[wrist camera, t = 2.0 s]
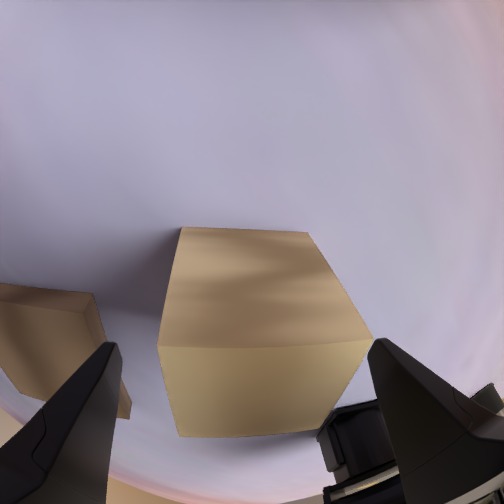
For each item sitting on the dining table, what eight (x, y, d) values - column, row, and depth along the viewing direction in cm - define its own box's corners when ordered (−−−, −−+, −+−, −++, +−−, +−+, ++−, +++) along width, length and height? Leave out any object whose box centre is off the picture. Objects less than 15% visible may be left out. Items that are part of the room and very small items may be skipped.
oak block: (307, 231, 11) (374, 338, 6) (286, 322, 14) (318, 428, 8) (182, 226, 10) (157, 345, 5) (185, 322, 13) (179, 436, 8)
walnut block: (96, 286, 12) (82, 313, 10) (132, 396, 17) (129, 419, 15) (-25, 273, 10) (-41, 291, 9) (27, 374, 15) (19, 392, 13)
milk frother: (475, 391, 29) (510, 453, 16) (513, 366, 31) (544, 415, 19) (434, 431, 36) (458, 486, 23) (477, 407, 38) (501, 452, 25)
